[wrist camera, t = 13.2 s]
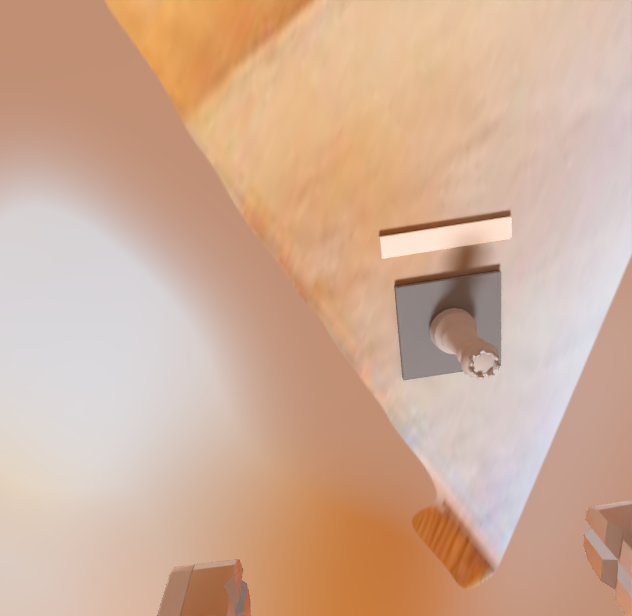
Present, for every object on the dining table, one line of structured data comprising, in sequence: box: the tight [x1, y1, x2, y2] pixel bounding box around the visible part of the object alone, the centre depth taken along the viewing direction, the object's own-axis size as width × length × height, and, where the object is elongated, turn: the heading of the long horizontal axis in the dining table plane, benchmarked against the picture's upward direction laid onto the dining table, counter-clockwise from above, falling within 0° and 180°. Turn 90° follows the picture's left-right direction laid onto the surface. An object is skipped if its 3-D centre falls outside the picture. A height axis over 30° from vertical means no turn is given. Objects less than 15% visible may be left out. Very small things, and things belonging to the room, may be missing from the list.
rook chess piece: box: [429, 308, 500, 379], centre depth 38 cm, size 4×4×8 cm
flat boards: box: [379, 216, 512, 380], centre depth 41 cm, size 15×12×1 cm
